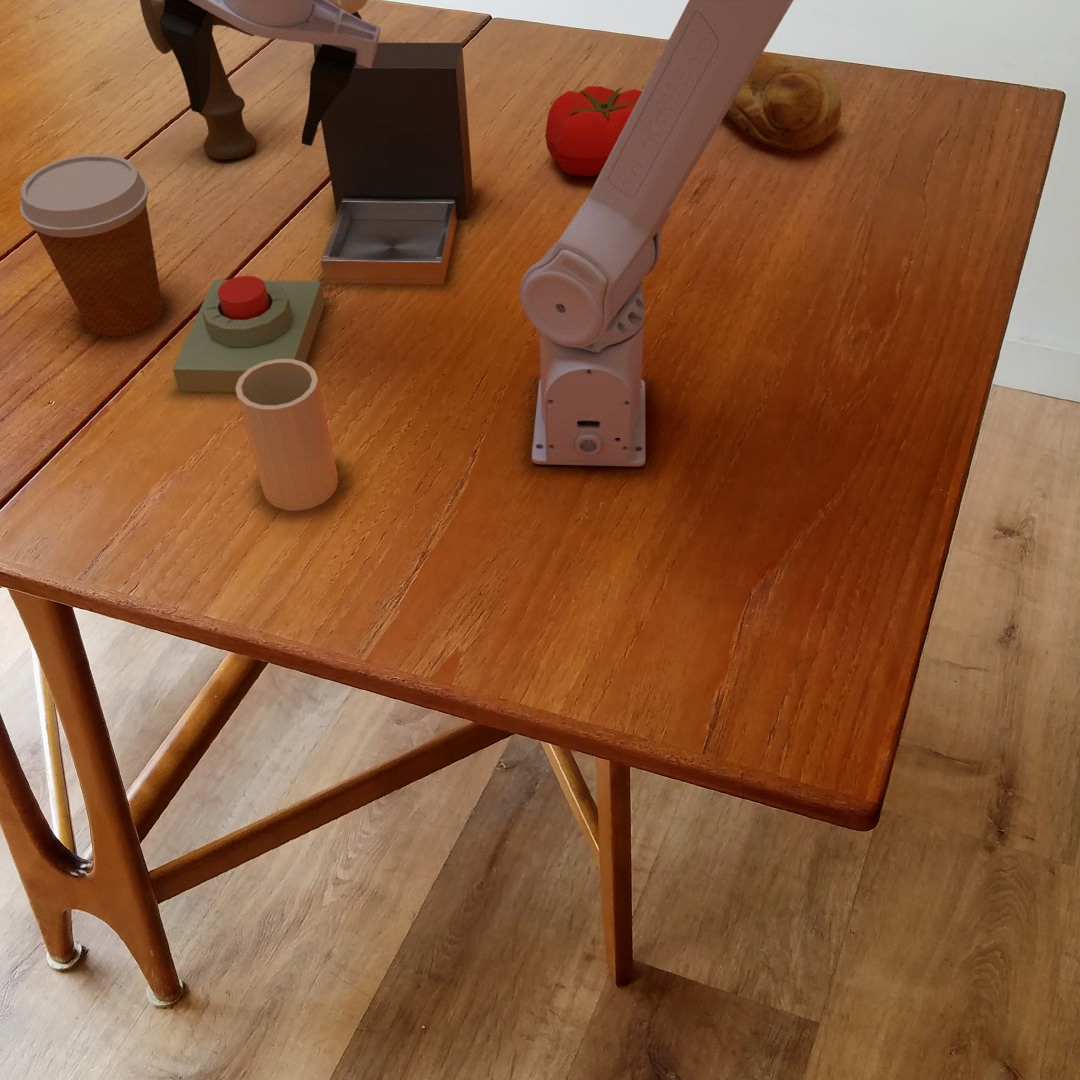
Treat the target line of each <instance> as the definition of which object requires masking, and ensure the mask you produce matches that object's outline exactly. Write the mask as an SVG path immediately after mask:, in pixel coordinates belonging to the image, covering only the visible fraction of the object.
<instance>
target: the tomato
mask: <svg viewBox="0 0 1080 1080" xmlns="http://www.w3.org/2000/svg"><path fill="white" fill-rule="evenodd" d="M622 89H624V85H623V86H621V87H619V88H618V89H616V90H614V89H610V88H607V87H604V86H601V85H590V86H589V85H588V86H586V87H585V88H583V89H582V90H581V89H579V88H578V91H579V92H578V91H573V90H567V91H566V92H564V93H562V94H560V96H558V97H557V98H555V99H554V101H553V102H552V103H551V106H550V108H549V110H548V113H547V119H546V126H545V135H544V136H545V143H546V148H547V151H548V152H549V155H550V156H551V159H553V160H554V161H556V162H557V163H558V165H559V166H560V167H561V169H562V171H563V172H564V173H566V174H571V175H574V176H579V177H594V176H597V175H600V173H601V171H602V169H603V167H604V165H605V163H606V161H607V159H608V157H609V155H610V153H611V151H612V149H613V147H614V145H615V143H616V141H617V140H618V138H619V136H620V134H621V132H622V130H623V128H624V126H625V124H626V122H627V120H628V118H629V116H630V114H631V112H632V110H633V108H634V107H635V105H636V103H637V101H638V99H639V97H640V95H641V93H642V91H643V90H639V89H635V88H634V89H629V90H626V91H623V92H620V91H621V90H622Z"/></svg>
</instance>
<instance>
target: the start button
mask: <svg viewBox="0 0 1080 1080" xmlns="http://www.w3.org/2000/svg"><path fill="white" fill-rule="evenodd" d="M226 280H227V281H226V282H224V283H223V284H222V285H221V286H220V287H219V289H218V296H219V300H220V304H221V307H222V311H223V314H224V315H225V316H226V317H227V318H229V319H231V320H247V319H251V318H254V317H258V316H260V315H262V314H263V313H265V312H266V311H267V310H268V309H269V300H268V296H267V291H266V287H265V283H264V282H263V281H264V280H262V279H261V278H259V277H257V276H252V275H240V276H236V277H232V278H229V279H226Z"/></svg>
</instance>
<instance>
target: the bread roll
mask: <svg viewBox="0 0 1080 1080" xmlns="http://www.w3.org/2000/svg"><path fill="white" fill-rule="evenodd" d="M841 116H842V97H841V94H840V92H839V89H838V87H837V85H836V81H835V80H834V79H833V78H832V77H831V76H829V75H828V73H827V72H825V71H824V70H823V69H822V68H821V67H820V66H816V65H815V66H814V65H796V66H794V65H793V63H791V62H790V60H789V59H788V58H786V57H784V56H781V55H778V54H776V53H775V54H774V53H773V54H772V53H762V54H761V56H760V58H759V59H758V61H757V63H756V64H755V66H754V68H753V69H752V71H751V73H750V74H749V76H748V78H747V79H746V81H745V83H744V84H743V86H742V88H741V89H740V91H739V93H738V94H737V96H736V98H735V99H734V101H733V103H732V104H731V106H730V108H729V110H728V111H727V113H726V115H725V116H724V118H723V119H724V120H725V121H727V122H728V123H729V124H731V125H733V126H735V127H737V128H738V130H739V131H740V132H741V134H743V135H745V136H746V137H747V138H749V139H750V140H751V141H753V142H754V143H756V144H757V145H759V146H762V147H766V148H768V149H769V148H770V149H772V150H775V151H780V152H787V153H795V152H802V151H805V150H808V149H812V148H815V147H816V146H818V145H819V144H822V143H823V142H824V141H825V140H827V138H828V137H829V136H831V135H832V134H833V133H834V132H835V131H836V130H837V127H838V126H839V123H840V119H841Z"/></svg>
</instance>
